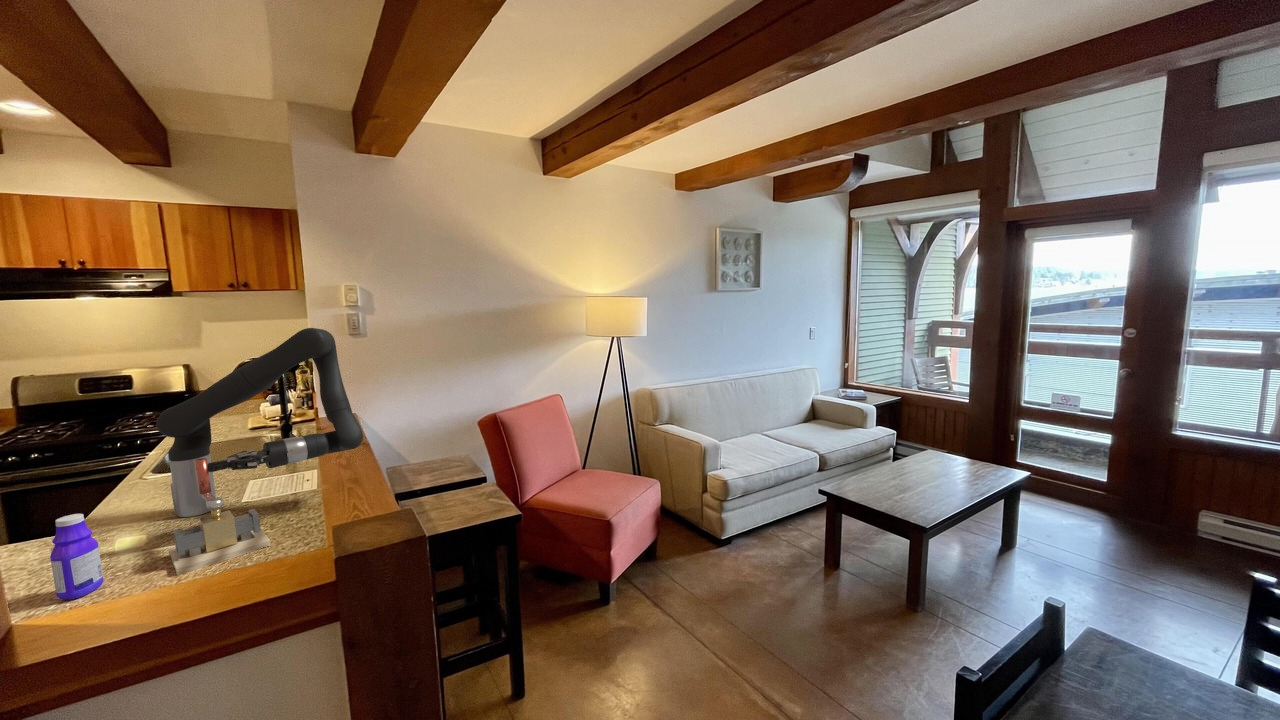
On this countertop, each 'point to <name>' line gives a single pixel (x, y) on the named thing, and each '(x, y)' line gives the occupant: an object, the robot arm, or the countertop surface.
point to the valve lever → (206, 485)
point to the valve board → (217, 553)
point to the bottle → (75, 558)
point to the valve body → (216, 532)
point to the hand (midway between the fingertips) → (208, 467)
